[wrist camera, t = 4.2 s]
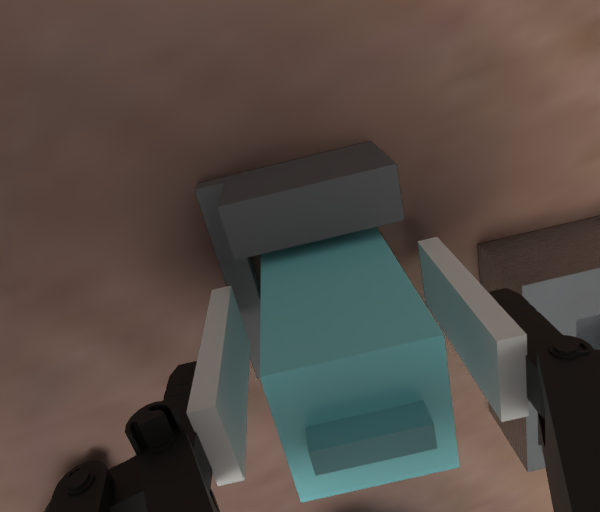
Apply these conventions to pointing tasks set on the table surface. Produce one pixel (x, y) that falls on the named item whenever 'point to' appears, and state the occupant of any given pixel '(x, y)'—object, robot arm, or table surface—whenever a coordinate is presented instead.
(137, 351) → the table surface
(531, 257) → the port panel
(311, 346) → the plug
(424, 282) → the robot arm
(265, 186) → the grey u-shaped bracket
